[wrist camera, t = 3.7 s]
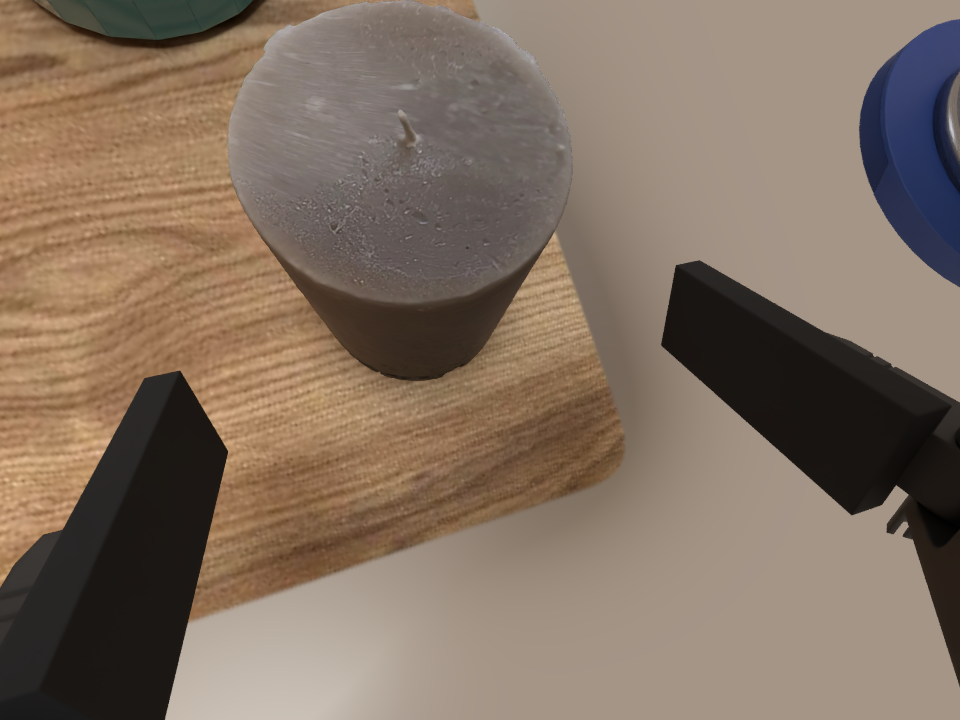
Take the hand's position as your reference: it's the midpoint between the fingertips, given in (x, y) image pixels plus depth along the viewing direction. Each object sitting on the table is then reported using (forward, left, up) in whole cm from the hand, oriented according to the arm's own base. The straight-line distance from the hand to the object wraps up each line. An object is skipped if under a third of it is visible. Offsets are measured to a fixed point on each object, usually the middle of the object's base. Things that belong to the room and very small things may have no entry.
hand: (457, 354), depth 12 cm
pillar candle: (+4, -4, -13) cm, 15 cm away
